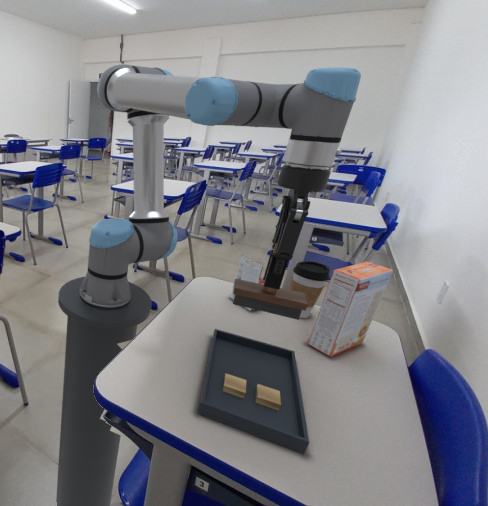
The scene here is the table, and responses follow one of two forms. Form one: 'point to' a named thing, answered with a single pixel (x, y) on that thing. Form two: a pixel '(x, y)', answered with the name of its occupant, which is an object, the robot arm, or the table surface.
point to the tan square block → (234, 385)
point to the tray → (255, 372)
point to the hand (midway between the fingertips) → (271, 283)
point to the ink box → (249, 273)
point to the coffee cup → (309, 282)
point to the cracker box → (349, 307)
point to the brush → (269, 298)
